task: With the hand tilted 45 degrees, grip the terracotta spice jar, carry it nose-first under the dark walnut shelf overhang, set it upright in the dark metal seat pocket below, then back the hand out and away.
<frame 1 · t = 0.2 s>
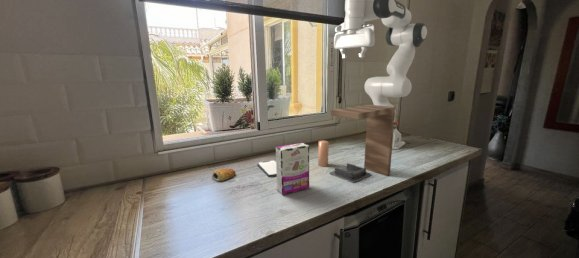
hand: (352, 58, 118), 48 cm above the table, tool pointing down, fingers open, 8 cm apart
terracotta spice jar: (323, 165, 118), on the table
candy bar box: (292, 189, 93), on the table
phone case: (271, 170, 113), on the table
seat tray: (350, 174, 106), on the table
pastry: (223, 178, 105), on the table
walnut shelf: (360, 178, 103), on the table
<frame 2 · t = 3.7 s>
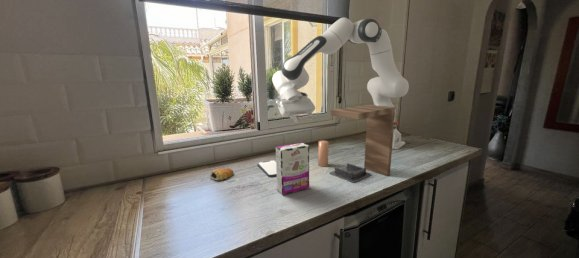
hand: (304, 120, 123), 19 cm above the table, tool tilted 45°, fingers open, 8 cm apart
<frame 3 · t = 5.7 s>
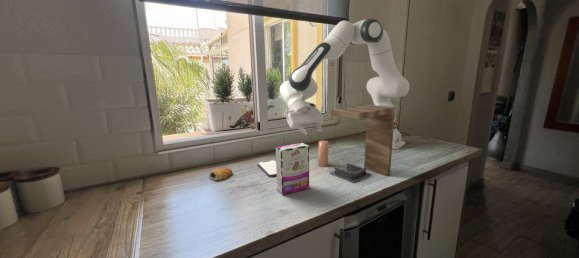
hand: (313, 132, 119), 14 cm above the table, tool tilted 45°, fingers open, 8 cm apart
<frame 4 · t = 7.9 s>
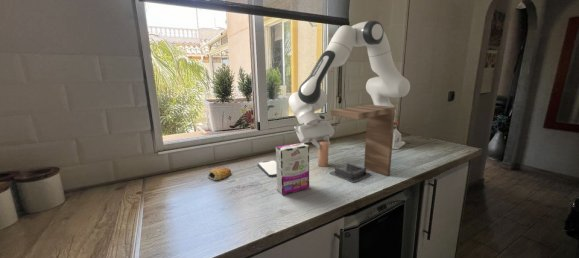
hand: (324, 146, 115), 9 cm above the table, tool tilted 45°, fingers closed on terracotta spice jar, 4 cm apart
terracotta spice jar: (323, 165, 118), on the table, touching gripper
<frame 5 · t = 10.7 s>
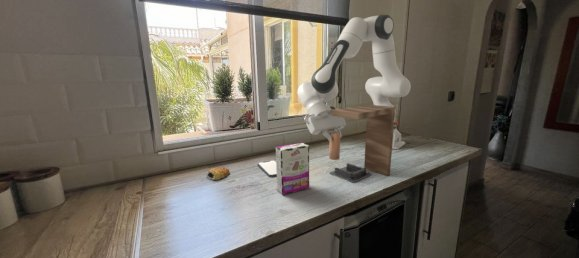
hand: (336, 138, 109), 14 cm above the table, tool tilted 45°, fingers closed on terracotta spice jar, 4 cm apart
terracotta spice jar: (334, 158, 112), point 5 cm above the table, touching gripper
when the fingers open (11 cm above the table, at t = 13.7 s): terracotta spice jar drops 1 cm, resting on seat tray.
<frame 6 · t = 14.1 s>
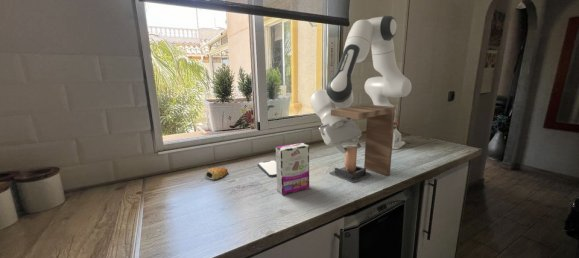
hand: (352, 150, 104), 11 cm above the table, tool tilted 45°, fingers open, 8 cm apart
terracotta spice jar: (350, 173, 106), point 1 cm above the table, touching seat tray
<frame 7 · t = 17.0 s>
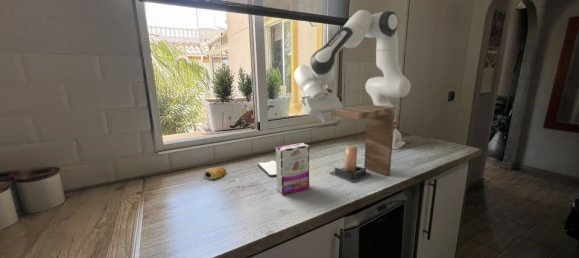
hand: (332, 120, 109), 22 cm above the table, tool tilted 45°, fingers open, 8 cm apart
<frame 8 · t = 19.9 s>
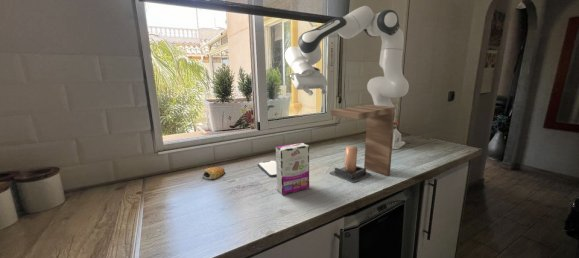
hand: (318, 94, 123), 31 cm above the table, tool tilted 45°, fingers open, 8 cm apart
at the end: terracotta spice jar 0.1 cm from the target spot, point 0.6 cm above the table; terracotta spice jar tilted 0°; the gripper is holding nothing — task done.
